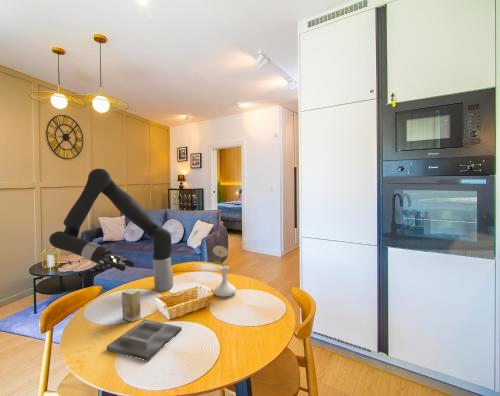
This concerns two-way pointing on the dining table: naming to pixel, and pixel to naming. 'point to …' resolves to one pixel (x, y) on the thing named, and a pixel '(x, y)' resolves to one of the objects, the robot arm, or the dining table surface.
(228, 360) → the dining table surface
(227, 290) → the flower in vase
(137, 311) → the skincare box
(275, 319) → the dining table surface
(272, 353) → the dining table surface
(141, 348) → the holder board
